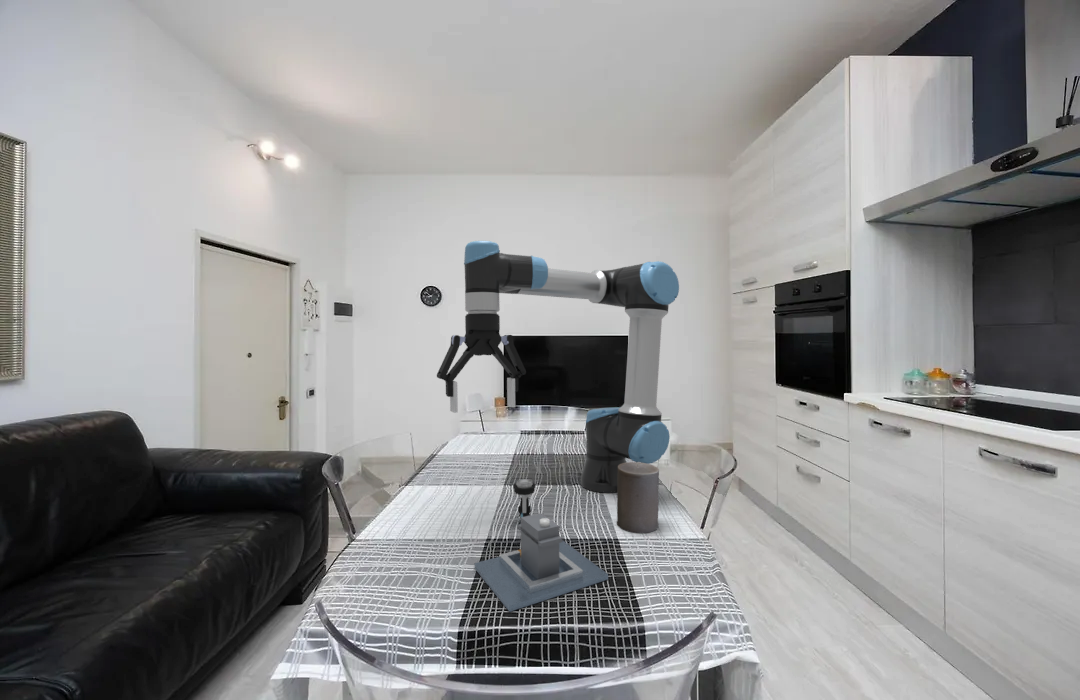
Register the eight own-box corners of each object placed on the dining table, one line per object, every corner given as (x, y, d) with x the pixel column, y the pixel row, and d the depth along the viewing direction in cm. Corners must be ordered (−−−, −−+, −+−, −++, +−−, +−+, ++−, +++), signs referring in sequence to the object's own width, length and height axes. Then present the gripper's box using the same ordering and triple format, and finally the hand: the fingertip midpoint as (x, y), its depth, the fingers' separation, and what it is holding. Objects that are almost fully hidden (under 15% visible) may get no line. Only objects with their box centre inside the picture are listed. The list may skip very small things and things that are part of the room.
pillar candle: (608, 525, 108) (609, 462, 107) (630, 512, 115) (631, 454, 114) (645, 537, 101) (646, 471, 101) (666, 524, 108) (667, 461, 108)
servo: (538, 555, 91) (538, 506, 91) (562, 576, 83) (562, 522, 83) (518, 561, 89) (518, 510, 89) (541, 583, 81) (541, 527, 81)
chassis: (561, 544, 98) (561, 534, 98) (608, 579, 84) (608, 567, 84) (474, 567, 88) (473, 556, 88) (509, 612, 74) (509, 598, 74)
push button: (535, 529, 106) (535, 486, 106) (512, 529, 106) (512, 486, 106) (535, 517, 113) (535, 477, 112) (514, 517, 113) (513, 477, 112)
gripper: (525, 314, 110) (525, 402, 111) (421, 313, 98) (423, 411, 98) (540, 313, 103) (540, 406, 104) (431, 311, 91) (432, 416, 92)
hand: (483, 409), depth 101 cm, fingers open, 13 cm apart
